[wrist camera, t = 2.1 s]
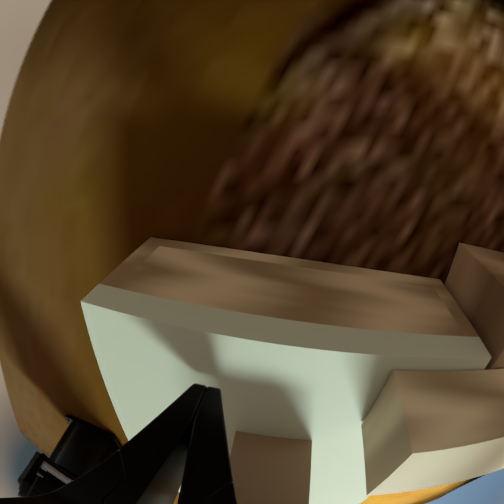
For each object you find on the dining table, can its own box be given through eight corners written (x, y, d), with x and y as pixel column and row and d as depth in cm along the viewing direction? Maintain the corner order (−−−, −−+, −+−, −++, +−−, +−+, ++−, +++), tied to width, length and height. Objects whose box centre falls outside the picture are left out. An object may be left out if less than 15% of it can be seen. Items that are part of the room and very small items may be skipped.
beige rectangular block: (361, 425, 9) (366, 495, 6) (393, 370, 8) (412, 453, 5) (507, 411, 8) (526, 459, 6) (542, 364, 7) (570, 413, 4)
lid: (158, 462, 17) (135, 521, 12) (110, 273, 10) (15, 369, 5) (348, 489, 16) (348, 551, 11) (471, 324, 9) (529, 433, 4)
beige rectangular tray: (173, 425, 21) (150, 483, 15) (149, 196, 13) (69, 245, 8) (462, 442, 18) (475, 490, 13) (572, 270, 11) (619, 316, 5)
